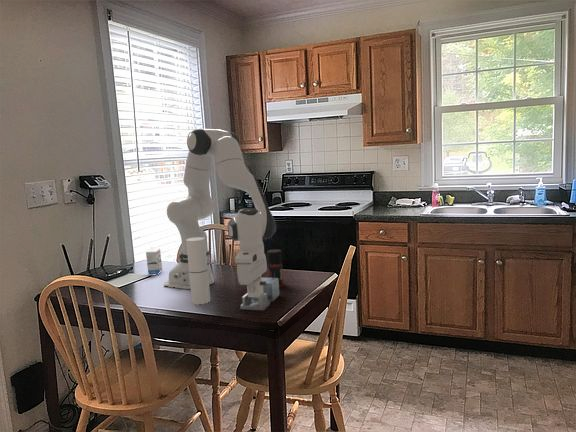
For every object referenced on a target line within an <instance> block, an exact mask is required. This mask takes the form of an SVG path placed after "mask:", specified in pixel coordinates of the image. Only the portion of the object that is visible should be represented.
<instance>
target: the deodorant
mask: <svg viewBox="0 0 576 432" xmlns="http://www.w3.org/2000/svg"><path fill="white" fill-rule="evenodd" d="M266 259H267V271H268V278H278V281H279V288H282V287H284V273H283V260H282V250H281V249H279V248H278V249H277V248H276V249H269V250H267V251H266Z"/></svg>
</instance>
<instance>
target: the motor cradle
mask: <svg viewBox="0 0 576 432" xmlns="http://www.w3.org/2000/svg"><path fill="white" fill-rule="evenodd" d="M261 278H262V280H263V282H266V285H263V292H264V294H263V295H261V296H260V297H248V293H245V294H244V295H243V296H241V302H242V303H241V304H240V310H246V311H247V310H248V311H265V310H266V309H267V308H268V307H269V306H270V305H271V302H274V301H275V300H276V299H277V298H278V297H279V296H280V287H279V281H278V278H269V277H262V276H261Z"/></svg>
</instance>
